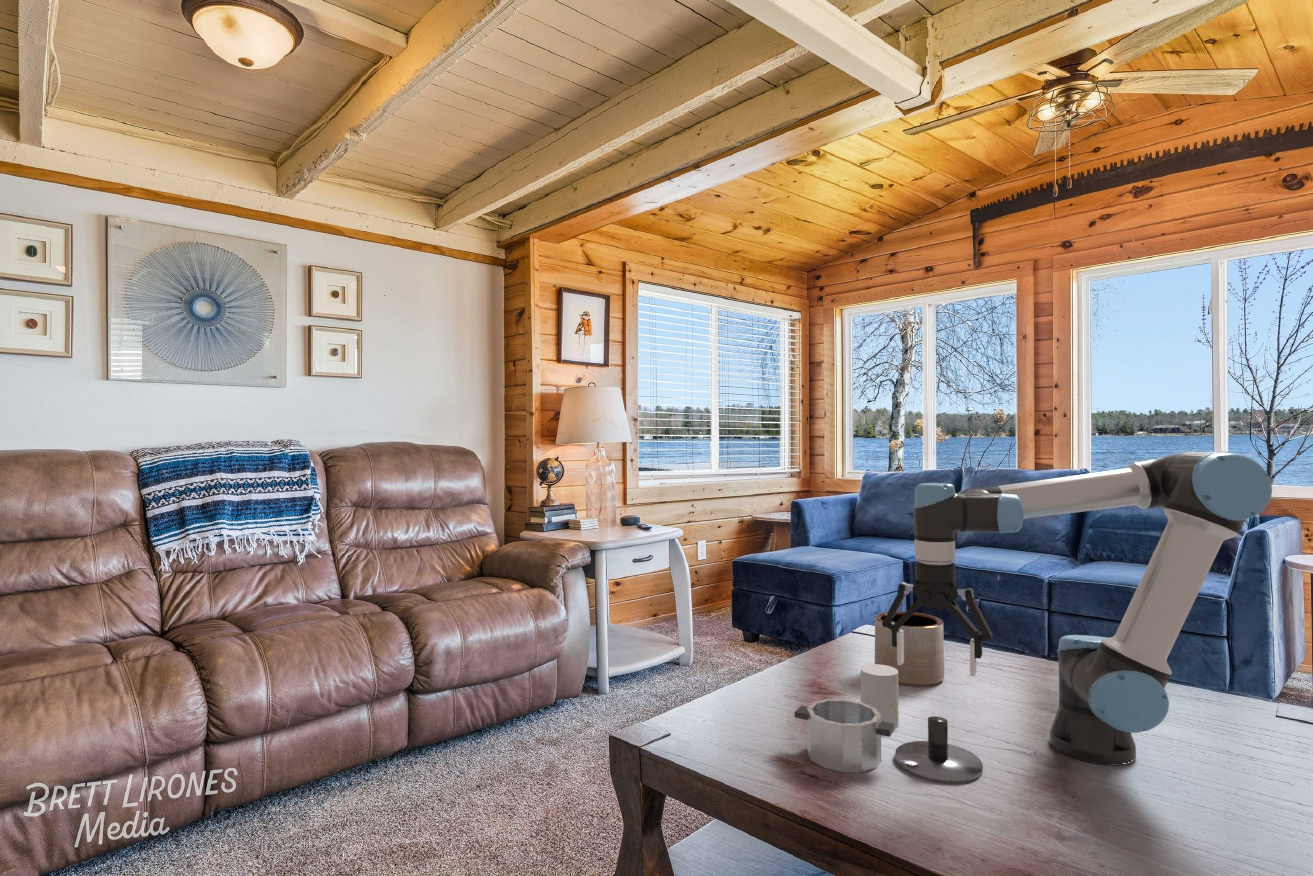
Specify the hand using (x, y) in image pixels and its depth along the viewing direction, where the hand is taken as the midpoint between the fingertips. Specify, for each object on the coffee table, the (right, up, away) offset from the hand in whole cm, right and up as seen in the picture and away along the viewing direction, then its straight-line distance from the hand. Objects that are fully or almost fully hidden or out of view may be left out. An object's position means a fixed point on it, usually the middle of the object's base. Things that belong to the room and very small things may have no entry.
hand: (936, 669), depth 141 cm
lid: (0, -19, 0) cm, 19 cm away
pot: (-17, -19, +3) cm, 26 cm away
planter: (+13, -19, +52) cm, 56 cm away
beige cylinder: (-5, -19, +20) cm, 28 cm away
